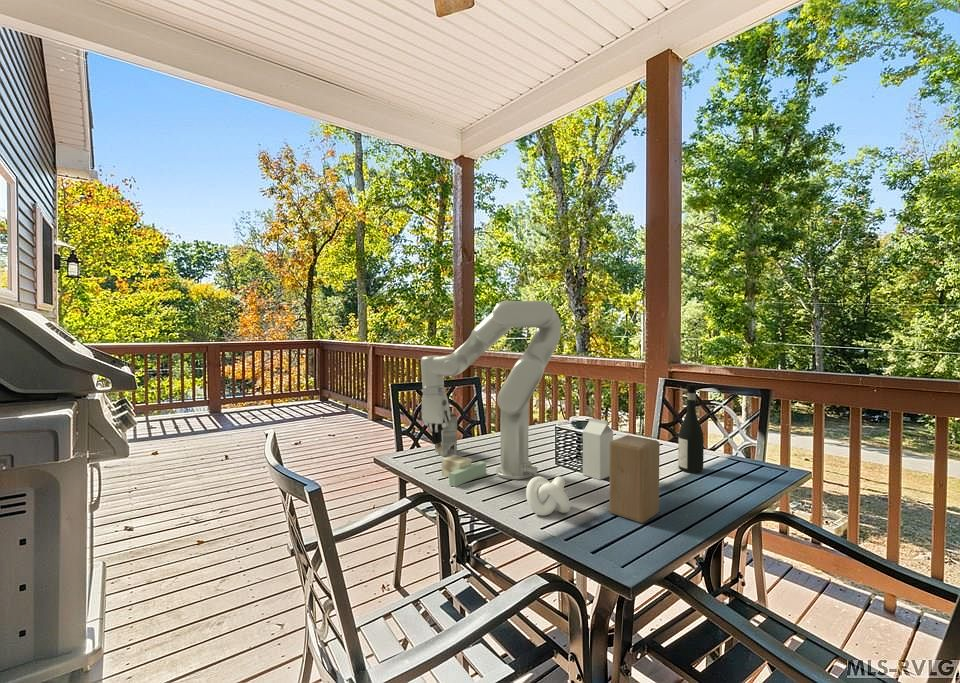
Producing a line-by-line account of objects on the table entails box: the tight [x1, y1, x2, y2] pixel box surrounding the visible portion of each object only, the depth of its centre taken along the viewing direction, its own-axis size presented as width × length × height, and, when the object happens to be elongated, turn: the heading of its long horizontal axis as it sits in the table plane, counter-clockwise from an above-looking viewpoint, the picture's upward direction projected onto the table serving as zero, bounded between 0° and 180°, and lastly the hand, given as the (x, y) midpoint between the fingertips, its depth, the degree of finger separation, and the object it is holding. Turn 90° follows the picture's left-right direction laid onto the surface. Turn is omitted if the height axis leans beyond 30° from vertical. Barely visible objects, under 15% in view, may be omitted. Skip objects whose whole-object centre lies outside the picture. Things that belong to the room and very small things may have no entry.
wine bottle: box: [677, 383, 705, 474], centre depth 159 cm, size 8×8×30 cm
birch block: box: [441, 454, 472, 479], centre depth 155 cm, size 8×6×6 cm
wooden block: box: [608, 434, 660, 524], centre depth 123 cm, size 10×10×20 cm
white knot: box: [525, 475, 571, 517], centre depth 126 cm, size 11×12×9 cm
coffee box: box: [434, 411, 458, 457], centre depth 182 cm, size 9×6×16 cm
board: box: [448, 460, 487, 488], centre depth 152 cm, size 2×16×4 cm, turn 141°
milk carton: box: [582, 417, 614, 481], centre depth 155 cm, size 7×7×19 cm
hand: (437, 442), depth 161 cm, fingers closed
